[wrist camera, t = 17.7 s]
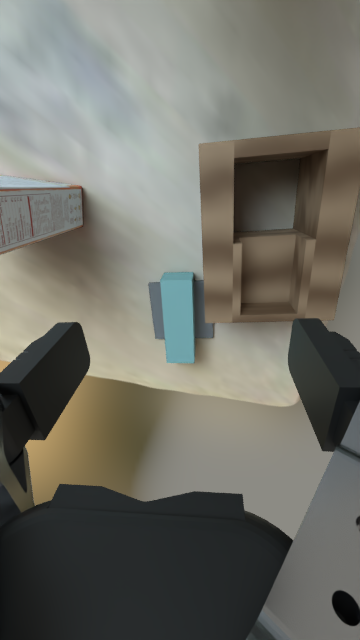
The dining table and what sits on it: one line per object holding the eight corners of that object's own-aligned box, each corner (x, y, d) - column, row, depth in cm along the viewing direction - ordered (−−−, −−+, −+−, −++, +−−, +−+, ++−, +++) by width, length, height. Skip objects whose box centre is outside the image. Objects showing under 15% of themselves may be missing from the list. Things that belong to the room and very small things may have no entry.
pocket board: (200, 154, 35) (198, 143, 27) (331, 141, 33) (371, 126, 25) (205, 298, 44) (205, 323, 35) (309, 294, 42) (333, 320, 34)
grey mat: (149, 282, 43) (148, 283, 43) (211, 280, 42) (211, 281, 42) (156, 337, 48) (155, 338, 47) (212, 336, 46) (213, 337, 46)
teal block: (164, 272, 42) (160, 280, 38) (193, 272, 41) (191, 280, 38) (169, 349, 48) (166, 362, 44) (195, 349, 47) (194, 363, 44)
